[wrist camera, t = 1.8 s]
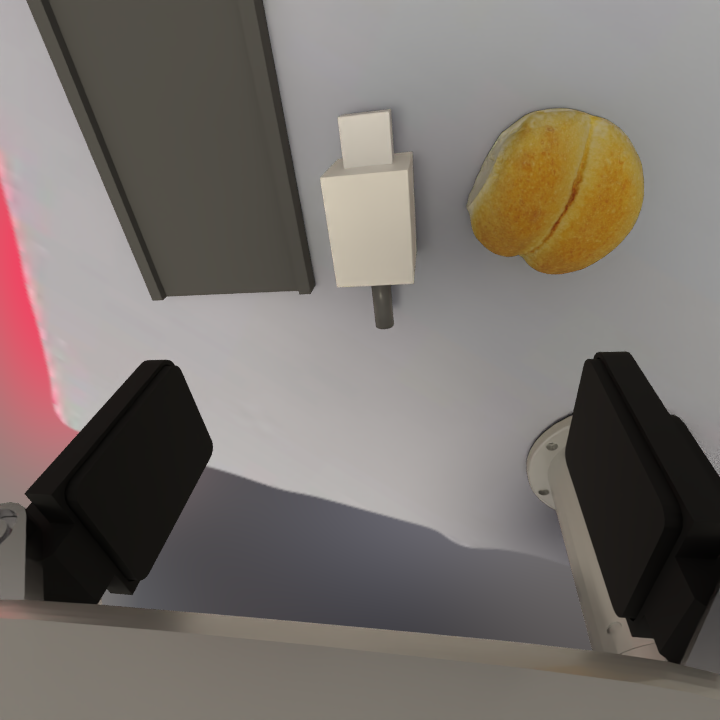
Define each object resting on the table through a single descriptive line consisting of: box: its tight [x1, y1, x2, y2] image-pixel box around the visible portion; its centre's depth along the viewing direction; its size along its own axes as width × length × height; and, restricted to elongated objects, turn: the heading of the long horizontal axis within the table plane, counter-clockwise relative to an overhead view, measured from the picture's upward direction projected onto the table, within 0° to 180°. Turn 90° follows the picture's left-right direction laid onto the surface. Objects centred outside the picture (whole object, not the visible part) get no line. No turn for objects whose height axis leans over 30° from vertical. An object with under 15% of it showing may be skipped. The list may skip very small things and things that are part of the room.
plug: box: [320, 109, 417, 329], centre depth 26 cm, size 12×4×5 cm, turn 7°
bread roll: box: [466, 108, 644, 274], centre depth 24 cm, size 8×9×4 cm
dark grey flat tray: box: [26, 0, 315, 300], centre depth 26 cm, size 20×12×1 cm, turn 7°
